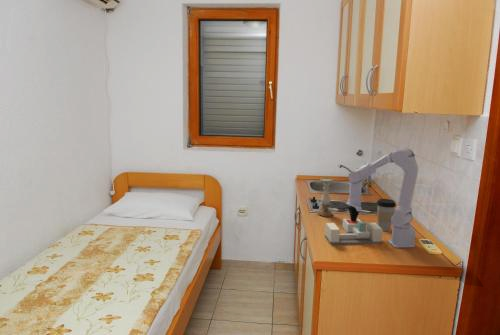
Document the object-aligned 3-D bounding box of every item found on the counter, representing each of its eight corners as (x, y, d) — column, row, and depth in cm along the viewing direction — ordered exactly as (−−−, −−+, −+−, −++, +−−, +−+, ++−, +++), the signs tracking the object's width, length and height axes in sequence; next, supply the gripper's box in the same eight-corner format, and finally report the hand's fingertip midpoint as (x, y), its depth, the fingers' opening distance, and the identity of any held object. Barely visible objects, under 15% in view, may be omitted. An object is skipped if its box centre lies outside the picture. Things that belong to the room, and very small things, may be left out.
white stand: (373, 235, 192) (374, 222, 190) (381, 243, 182) (382, 229, 181) (324, 236, 190) (325, 222, 189) (330, 244, 180) (331, 230, 179)
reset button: (355, 225, 200) (356, 219, 199) (358, 228, 196) (359, 222, 195) (347, 226, 200) (347, 219, 199) (349, 229, 195) (350, 222, 195)
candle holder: (335, 215, 222) (338, 180, 218) (322, 217, 218) (324, 181, 214) (327, 211, 230) (329, 177, 226) (314, 212, 226) (315, 178, 222)
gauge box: (357, 228, 202) (358, 218, 201) (363, 233, 195) (363, 224, 194) (342, 228, 202) (343, 218, 201) (347, 233, 194) (348, 224, 193)
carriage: (364, 233, 190) (365, 219, 188) (369, 239, 183) (371, 224, 181) (352, 234, 189) (353, 219, 188) (357, 239, 182) (358, 224, 181)
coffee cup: (393, 227, 205) (395, 199, 202) (394, 233, 196) (397, 204, 193) (374, 225, 207) (376, 197, 204) (374, 231, 198) (376, 202, 195)
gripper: (342, 190, 201) (341, 216, 204) (352, 198, 187) (350, 225, 190) (356, 190, 202) (354, 216, 204) (366, 198, 188) (364, 225, 190)
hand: (353, 220), depth 197 cm, fingers closed, pressing on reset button
